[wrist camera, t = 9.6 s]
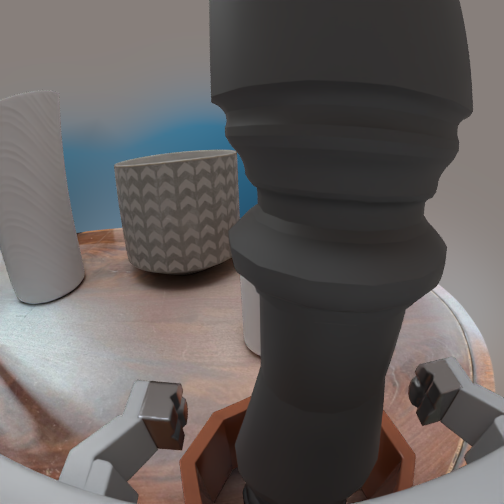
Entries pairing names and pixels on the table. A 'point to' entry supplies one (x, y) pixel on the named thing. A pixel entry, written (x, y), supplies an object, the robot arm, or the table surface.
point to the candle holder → (333, 215)
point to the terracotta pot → (224, 461)
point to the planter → (178, 209)
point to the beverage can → (250, 315)
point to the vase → (36, 200)
